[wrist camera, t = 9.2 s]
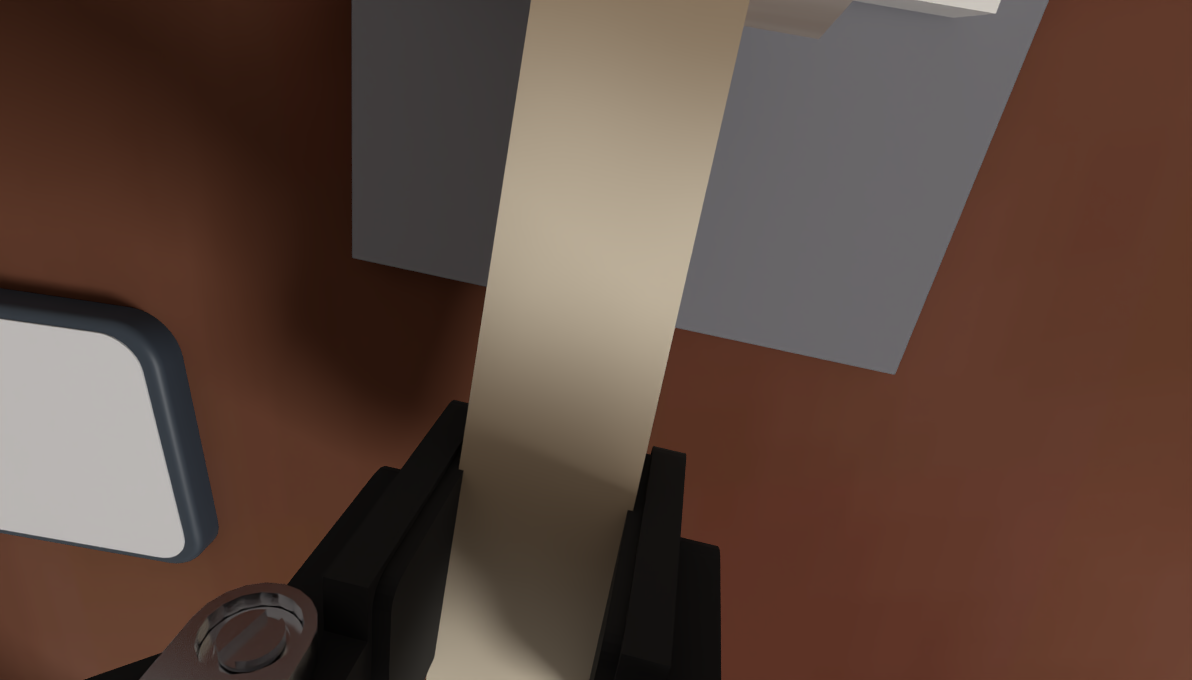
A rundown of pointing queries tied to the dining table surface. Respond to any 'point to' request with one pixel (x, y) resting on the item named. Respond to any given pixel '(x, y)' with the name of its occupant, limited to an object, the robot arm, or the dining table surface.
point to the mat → (740, 165)
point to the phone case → (99, 431)
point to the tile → (942, 6)
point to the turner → (583, 314)
